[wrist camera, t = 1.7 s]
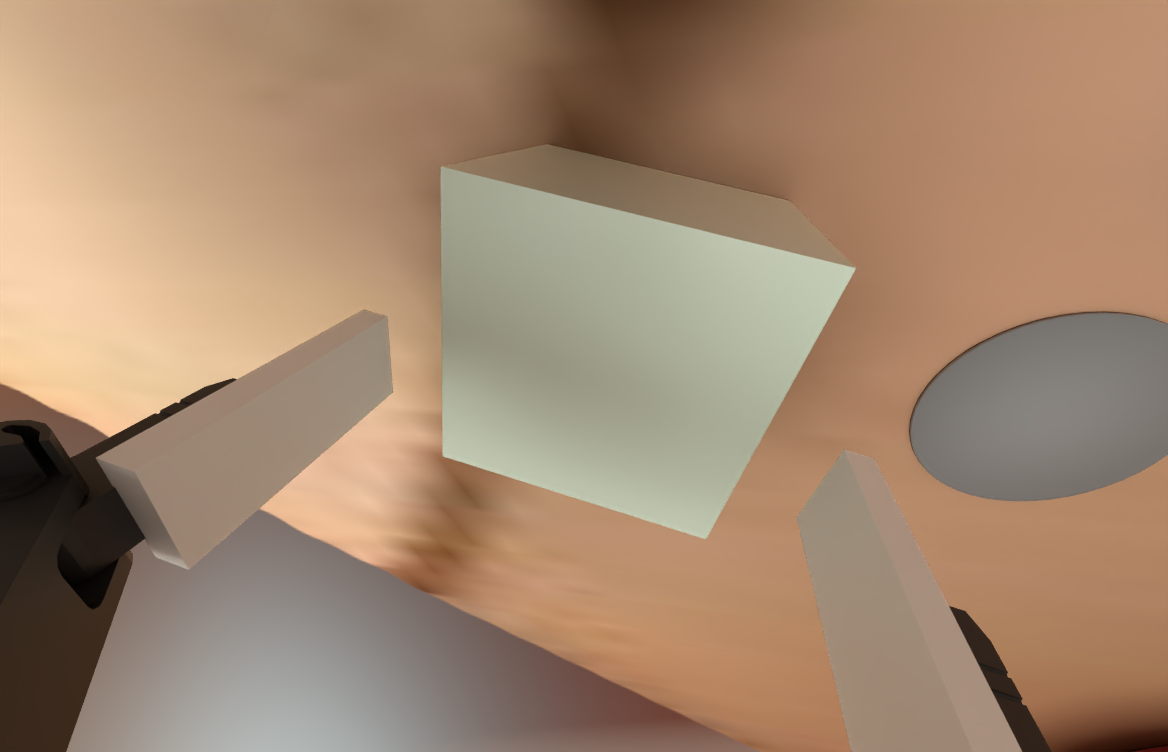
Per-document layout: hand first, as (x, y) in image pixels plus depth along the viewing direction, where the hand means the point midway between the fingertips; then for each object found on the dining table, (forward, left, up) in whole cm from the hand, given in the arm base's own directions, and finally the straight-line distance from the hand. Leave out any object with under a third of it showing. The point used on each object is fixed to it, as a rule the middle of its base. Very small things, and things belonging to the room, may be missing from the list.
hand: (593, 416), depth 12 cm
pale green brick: (0, 0, -10) cm, 10 cm away
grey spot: (+1, +19, -10) cm, 21 cm away
